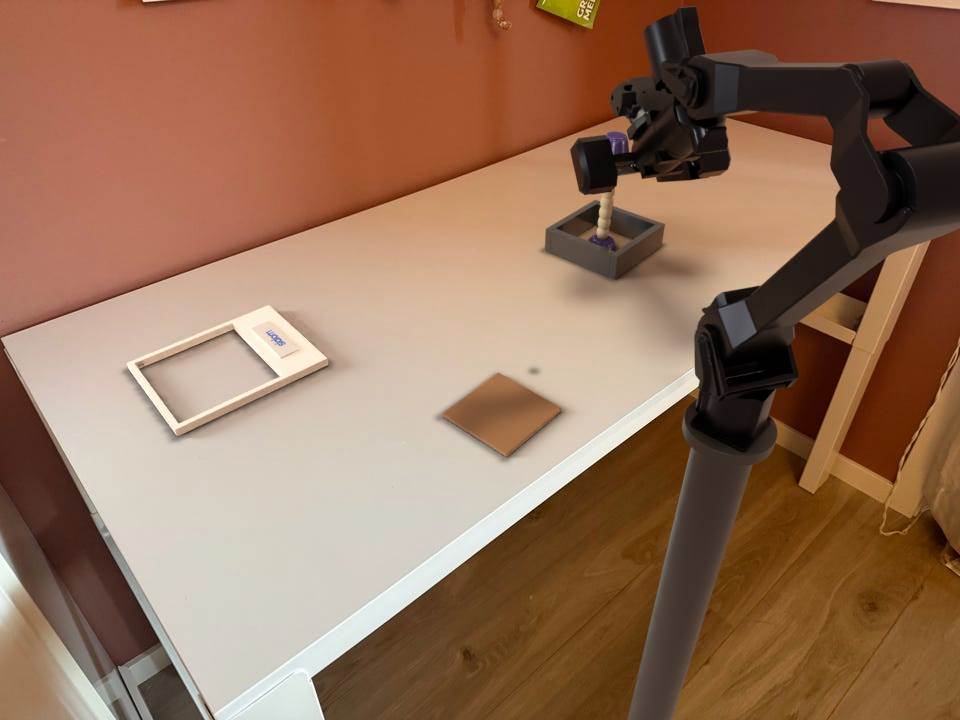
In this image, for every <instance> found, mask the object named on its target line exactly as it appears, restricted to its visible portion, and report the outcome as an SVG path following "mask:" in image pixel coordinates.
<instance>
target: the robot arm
mask: <svg viewBox="0 0 960 720" xmlns="http://www.w3.org/2000/svg"><path fill="white" fill-rule="evenodd" d="M642 38H643V42H644V43H643V44H644V47H645V51H646V55H647V59H648V64H649V69H650V72H651V75H647V76H639V77H632V78H630V79H629V80H628V81H627V80H626V81H621V82H620V84H618V85H616V87H614V88H613V89H612V90H611V94H610V97H609V104H610V107H611V109H612V111H613V114H614V116H615V117H619V118H620V117H625V118H626V119H627V120H628V121H629V123H630V126H629V127H628V128H627V129H626V135H627V137H628V141H632V142H633V143H632V145H631V147H630V149H631V150H630V151H629V152H628V153H621V154H613V151H612V147H611V143H610V139H609V138H608V137H607V136H606V135H605V134H601V135H593V136H591V135H590V136H585V137H577V139H576V141H575V142H574V143H573V145H572V146H571V148H570V149H569V151H570V157H571V162H572V166H573V171H574V174H575V179H576V184H577V188H578V192H579V193H580V194H582V195H584V196H590V195H591V196H593V195H594V196H595V195H600V194H601V195H602V193H608V192H612V189H614V188H615V189H616V187H617V186H618V179H619V177H620V176H621V177H622V176H628V175H635V174H640V176H641V180H645V179H653V178H655V179H656V182H657V183H669V182H687V181H688V182H689V181H695V180H703V179H709V178H711V177H719V176H722V175H723V174H724V173H725V172H727V171H729V168H730V166H731V162H732V155H731V152H730V148H729V137H728V133H727V131H728V128H727V126H726V122H727V117H732V116H742V115H749V114H755V113H760V112H761V113H770V114H780V115H781V114H782V115H792V116H802V117H813V118H814V117H815V118H824V119H827V121H828V122H829V125H830V127H831V129H832V131H833V133H832V143H831V152H830V162H829V167H830V170H831V172H832V175H833V176H834V179H835V181H836V183H837V184H838V186H839V188H840V189H839V190H838V191H837V193H836V195H835V205H834V207H835V208H834V210H835V211H834V215H835V216H834V218H833V219H832V220H831V222H829V223H828V224H827V225H826V226H824V228H823V229H822V230H820V231H819V232H818V233H817V234H816V235H815V236H813V238H812V239H810V240H809V241H808V242H807V243H806V244H805V245H804V246H803V247H802V248H801V249H799V250H798V251H797V252H796V253H795V254H794V255H793V256H792V257H791V258H790V259H788V260H787V261H786V262H785V263H784V264H783V265H782V266H781V267H780V268H778V269H777V270H776V271H775V272H774V273H773V274H772V275H771V276H770V277H769V278H767V279H766V280H765V281H764V282H763V283H762V284H760V285H755V286H749V287H743V288H738V289H733V290H726V291H721V292H720V293H719V294H717V295H716V296H715V297H714V298H713V300H712V302H711V303H710V304H709V305H708V306H705V307H701V313H703V315H702V316H701V317H700V319H699V320H698V322H697V325H696V329H695V331H694V335H693V336H694V337H693V338H694V339H693V340H694V341H693V342H694V343H693V344H694V345H693V347H694V352H693V354H694V355H693V356H694V375H695V377H696V378H697V379H698V381H699V382H698V386H697V388H698V390H699V391H698V394H697V398H696V399H697V403H696V407H695V411H696V412H698V414H697V415H696V416H695V417H694V418H693V419H692V420H691V422H690V426H691V427H693V428H695V429H697V430H699V431H700V432H702V433H704V434H706V435H708V436H710V437H712V438H714V439H716V440H718V441H720V442H722V443H724V444H726V445H728V446H730V447H732V448H734V449H736V450H738V451H739V452H742V453H745V452H747V451H748V449H749V448H750V447H751V446H752V445H753V444H754V442H755V441H756V440H757V439H758V438H759V437H760V435H761V434H762V433H763V432H764V431H765V429H766V428H767V427H768V426H769V425H770V423H771V418H770V417H768V414H769V415H770V411H771V409H772V408H771V407H772V405H773V401H774V399H775V395H776V393H777V389H781V388H791V387H792V386H793V385H794V384H795V383H796V382H797V381H798V379H799V377H800V375H799V369H798V367H797V363H796V362H797V361H796V358H795V355H794V351H793V346H792V343H793V341H794V340H795V338H796V333H795V326H796V324H798V323H799V322H801V321H802V320H803V319H805V318H806V317H807V316H809V315H810V314H811V313H813V312H814V311H815V310H817V309H818V308H819V307H821V306H822V305H824V304H825V303H827V302H828V301H829V300H830V299H832V298H833V297H835V296H836V295H838V294H839V293H841V292H842V291H843V290H844V289H845V288H847V287H848V286H850V285H851V284H852V283H854V282H855V281H857V280H858V279H859V278H860V277H862V276H863V275H864V274H866V273H868V271H870V270H871V269H873V268H874V267H875V266H877V265H878V264H879V263H881V262H882V261H883V260H885V259H886V258H888V257H889V256H890V255H892V254H894V253H898V252H899V251H903V250H905V249H908V248H912V247H915V246H918V245H920V244H923V243H926V242H929V241H932V240H935V239H937V238H941V237H943V236H945V235H948V234H950V233H952V232H954V231H957V230H959V229H960V114H959V113H957V112H956V111H955V110H953V109H952V108H951V107H950V106H948V105H947V104H946V103H944V102H942V101H941V100H940V99H939V98H937V97H936V96H935V95H933V93H931V92H930V91H928V90H927V89H926V88H925V87H924V86H923V84H922V82H921V81H920V79H919V78H918V76H917V75H916V72H915V71H914V70H913V68H912V67H911V65H909V64H908V63H907V62H903V61H901V60H899V59H896V58H885V59H875V60H865V61H856V62H783V61H780V60H778V58H777V57H776V55H775V54H772V53H769V52H765V51H761V50H759V49H745V50H744V49H743V50H735V51H726V52H716V53H707V50H706V46H705V42H704V37H703V34H702V29H701V25H700V19H699V13H698V9H697V6H695V5H691V6H681V7H677V8H676V10H675V11H674V12H673V13H671V14H668V15H665V16H663V17H661V18H659V19H657V20H655V21H654V22H652V23H651V24H648V25H647V26H646V27H645V28H644V30H643V32H642ZM877 119H882V121H883V122H884V124H885V125H886V126H887V127H888V128H889V129H890V130H891V131H893V132H894V133H895V134H897V135H898V136H899V137H900V138H901V139H903V140H904V141H906V142H907V143H908V144H909V145H910V146H903V147H897V148H889V149H882V150H876V148H875V146H874V145H873V143H872V141H871V139H870V137H869V134H868V125H869V120H870V121H871V120H877ZM622 166H623V168H622ZM625 166H626V167H625ZM628 166H629V167H628ZM616 167H617V168H616ZM619 167H620V168H619ZM694 423H695V424H694Z"/></svg>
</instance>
